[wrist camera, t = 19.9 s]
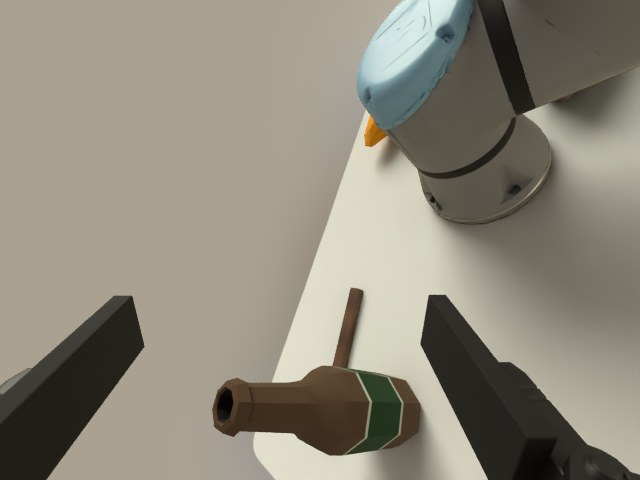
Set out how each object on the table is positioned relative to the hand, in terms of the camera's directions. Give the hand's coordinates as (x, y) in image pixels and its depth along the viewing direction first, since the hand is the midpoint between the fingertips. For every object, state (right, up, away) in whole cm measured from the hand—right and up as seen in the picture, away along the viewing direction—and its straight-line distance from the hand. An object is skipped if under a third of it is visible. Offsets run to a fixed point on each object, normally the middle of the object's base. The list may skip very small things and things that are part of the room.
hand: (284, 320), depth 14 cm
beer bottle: (+11, -17, +24) cm, 31 cm away
